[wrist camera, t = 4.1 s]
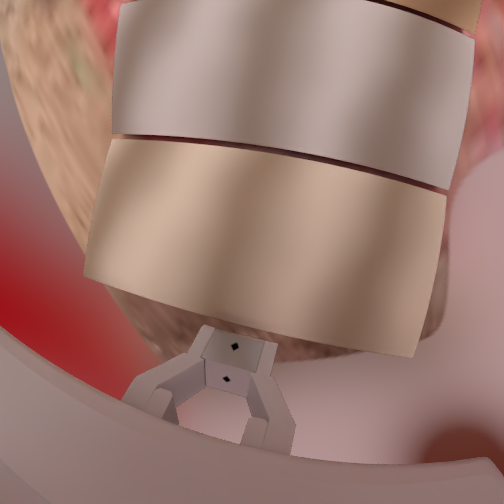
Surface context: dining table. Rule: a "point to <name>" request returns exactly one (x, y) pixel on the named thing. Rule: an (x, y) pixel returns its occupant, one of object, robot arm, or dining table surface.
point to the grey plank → (297, 79)
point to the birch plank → (268, 242)
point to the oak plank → (449, 11)
